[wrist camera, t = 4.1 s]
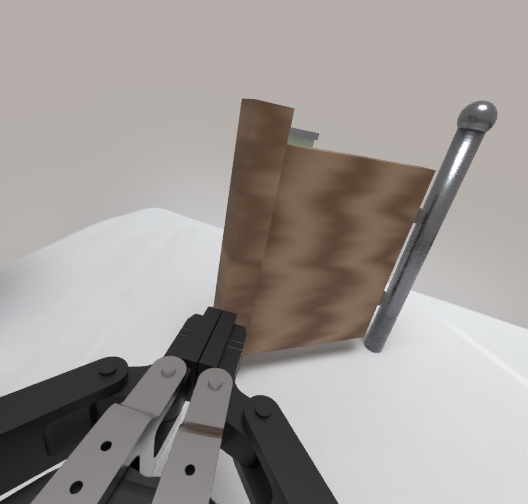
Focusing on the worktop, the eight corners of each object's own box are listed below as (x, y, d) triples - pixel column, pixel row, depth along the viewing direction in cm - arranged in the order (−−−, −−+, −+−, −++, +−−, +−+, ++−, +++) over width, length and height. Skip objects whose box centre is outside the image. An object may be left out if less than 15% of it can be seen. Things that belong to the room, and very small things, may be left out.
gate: (355, 337, 33) (437, 143, 24) (370, 354, 31) (465, 148, 22) (205, 360, 26) (241, 98, 17) (211, 384, 24) (255, 99, 15)
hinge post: (359, 347, 32) (468, 96, 22) (363, 334, 35) (464, 101, 24) (382, 358, 31) (508, 101, 21) (385, 345, 34) (500, 106, 23)
